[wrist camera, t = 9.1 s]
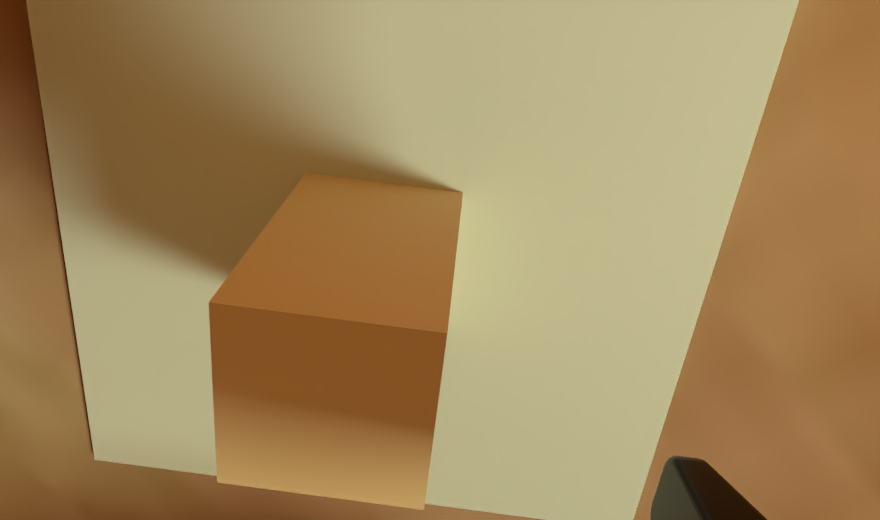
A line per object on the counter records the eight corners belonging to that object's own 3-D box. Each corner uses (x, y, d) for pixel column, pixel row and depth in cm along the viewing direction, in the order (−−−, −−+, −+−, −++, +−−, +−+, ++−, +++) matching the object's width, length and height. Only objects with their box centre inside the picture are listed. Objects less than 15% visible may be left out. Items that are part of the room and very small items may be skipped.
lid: (799, -68, 11) (1055, -61, 6) (624, 505, 17) (680, 757, 12) (31, -160, 12) (-342, -228, 6) (110, 437, 17) (-52, 656, 12)
